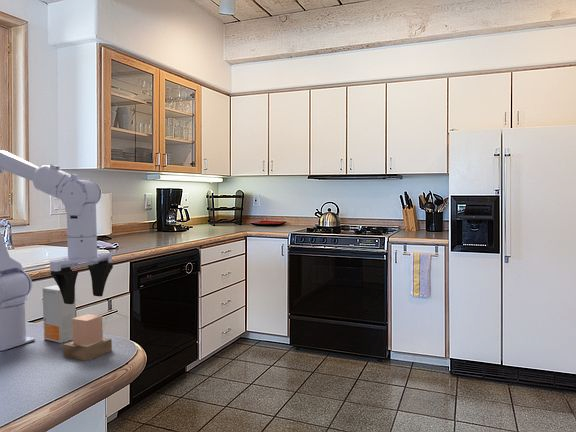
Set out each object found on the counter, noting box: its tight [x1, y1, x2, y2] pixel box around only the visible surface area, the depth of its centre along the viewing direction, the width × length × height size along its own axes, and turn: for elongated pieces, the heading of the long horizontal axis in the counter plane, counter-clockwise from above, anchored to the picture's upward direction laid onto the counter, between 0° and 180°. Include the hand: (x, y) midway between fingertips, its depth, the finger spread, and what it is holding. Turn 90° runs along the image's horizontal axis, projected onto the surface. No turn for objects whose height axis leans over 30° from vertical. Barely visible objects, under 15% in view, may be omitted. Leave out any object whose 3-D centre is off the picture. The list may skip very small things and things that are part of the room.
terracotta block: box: [72, 313, 104, 345], centre depth 95 cm, size 4×4×5 cm
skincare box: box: [42, 284, 77, 344], centre depth 104 cm, size 6×4×12 cm
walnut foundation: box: [62, 337, 113, 362], centre depth 95 cm, size 6×6×3 cm
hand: (84, 299), depth 98 cm, fingers open, 7 cm apart
